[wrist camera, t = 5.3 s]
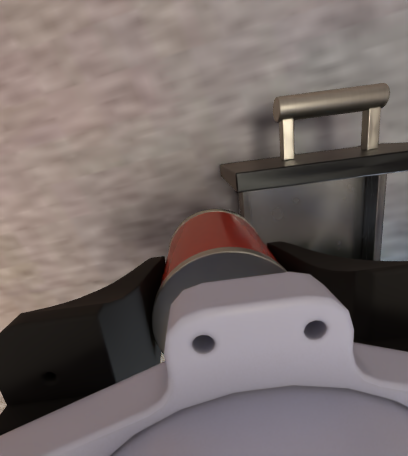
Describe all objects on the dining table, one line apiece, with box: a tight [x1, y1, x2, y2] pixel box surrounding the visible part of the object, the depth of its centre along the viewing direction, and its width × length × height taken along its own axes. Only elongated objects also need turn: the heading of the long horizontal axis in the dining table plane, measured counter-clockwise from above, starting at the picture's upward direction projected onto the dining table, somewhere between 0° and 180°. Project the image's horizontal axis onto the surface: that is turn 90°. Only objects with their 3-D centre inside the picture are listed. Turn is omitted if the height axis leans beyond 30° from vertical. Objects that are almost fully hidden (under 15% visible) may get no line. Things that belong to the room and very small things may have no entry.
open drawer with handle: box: [220, 83, 408, 261], centre depth 18 cm, size 13×18×8 cm
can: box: [152, 209, 287, 354], centre depth 11 cm, size 5×5×6 cm
